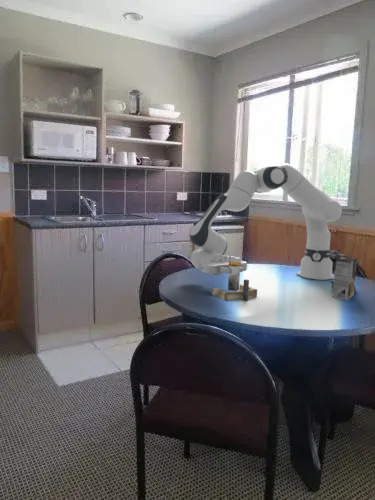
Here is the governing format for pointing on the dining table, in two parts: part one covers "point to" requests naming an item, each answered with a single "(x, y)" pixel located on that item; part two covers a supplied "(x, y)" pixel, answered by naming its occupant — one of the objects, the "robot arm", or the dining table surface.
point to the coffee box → (344, 277)
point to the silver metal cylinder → (234, 273)
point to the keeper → (236, 293)
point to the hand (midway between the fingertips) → (235, 270)
